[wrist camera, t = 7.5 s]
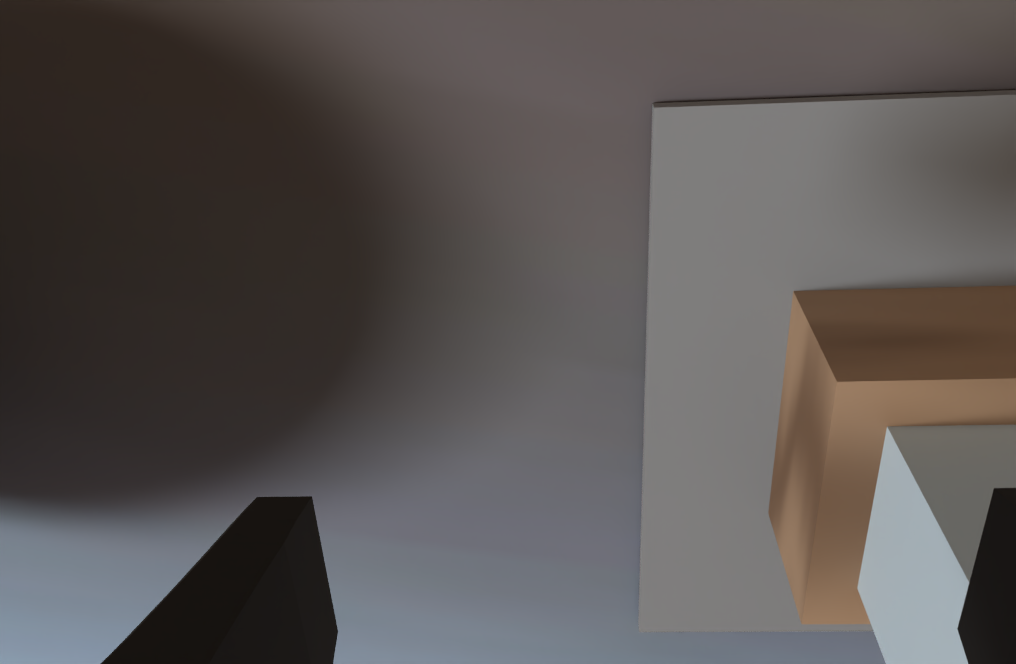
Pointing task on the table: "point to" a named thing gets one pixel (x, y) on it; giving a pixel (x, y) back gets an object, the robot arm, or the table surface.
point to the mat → (785, 303)
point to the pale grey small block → (929, 534)
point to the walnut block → (873, 415)
